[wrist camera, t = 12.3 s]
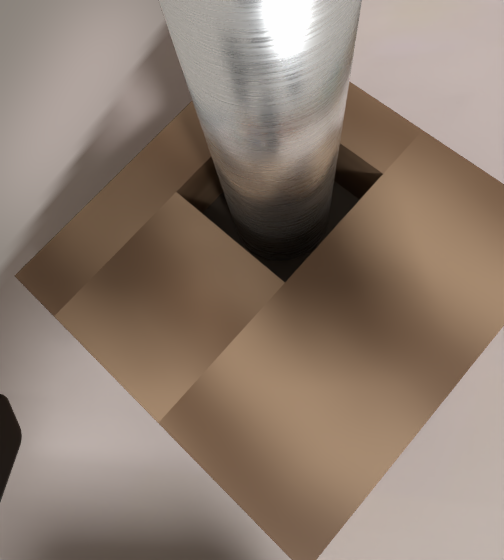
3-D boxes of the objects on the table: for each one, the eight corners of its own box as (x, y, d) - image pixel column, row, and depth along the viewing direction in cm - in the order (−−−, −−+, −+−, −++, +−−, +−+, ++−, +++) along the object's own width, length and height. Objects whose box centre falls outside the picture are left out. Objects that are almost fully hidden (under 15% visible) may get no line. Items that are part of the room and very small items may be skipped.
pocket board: (303, 541, 17) (305, 573, 14) (60, 297, 21) (14, 275, 17) (528, 264, 19) (577, 233, 16) (271, 83, 23) (267, 26, 19)
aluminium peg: (302, 276, 19) (310, 32, 7) (218, 237, 20) (90, -44, 8) (343, 195, 20) (416, -154, 8) (260, 161, 21) (205, -203, 9)
